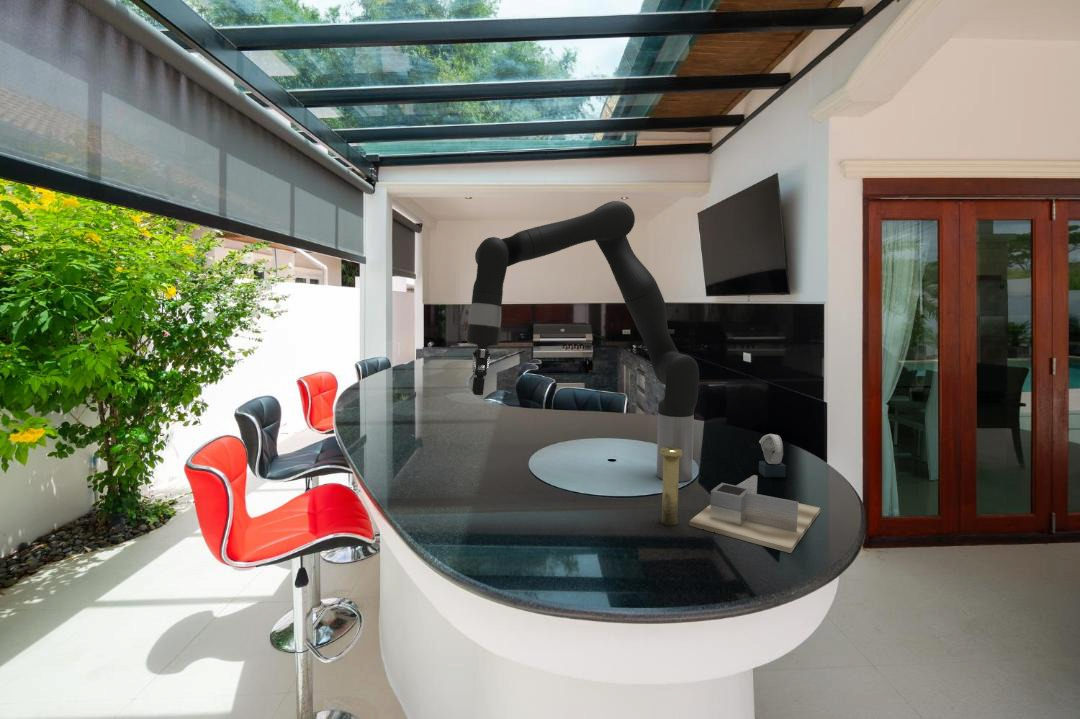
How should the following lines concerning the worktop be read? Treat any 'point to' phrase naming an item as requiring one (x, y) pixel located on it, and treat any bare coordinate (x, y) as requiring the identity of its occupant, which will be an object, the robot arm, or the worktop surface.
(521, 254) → the robot arm
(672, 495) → the hinge pin
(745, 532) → the board
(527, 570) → the worktop surface
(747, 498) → the hinge
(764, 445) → the watch
